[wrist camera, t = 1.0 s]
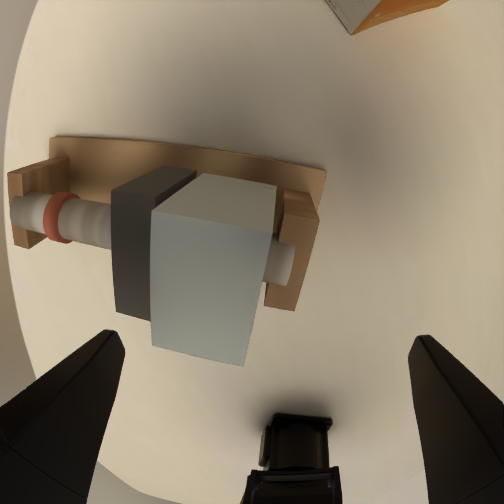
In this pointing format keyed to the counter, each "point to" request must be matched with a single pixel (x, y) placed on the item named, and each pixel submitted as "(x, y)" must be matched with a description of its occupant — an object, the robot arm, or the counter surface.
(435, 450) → the robot arm
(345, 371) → the counter surface
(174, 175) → the collar
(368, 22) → the small box
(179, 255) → the sleeve
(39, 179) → the wooden rail stand
